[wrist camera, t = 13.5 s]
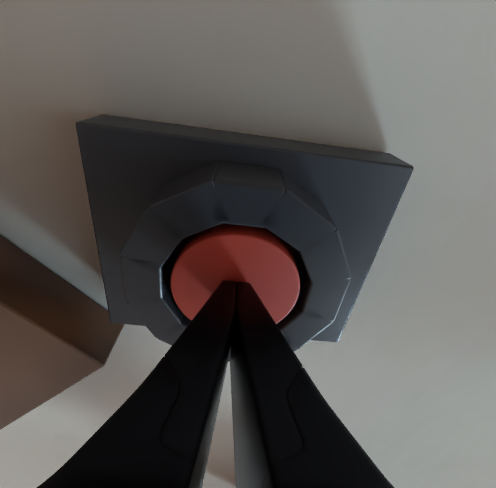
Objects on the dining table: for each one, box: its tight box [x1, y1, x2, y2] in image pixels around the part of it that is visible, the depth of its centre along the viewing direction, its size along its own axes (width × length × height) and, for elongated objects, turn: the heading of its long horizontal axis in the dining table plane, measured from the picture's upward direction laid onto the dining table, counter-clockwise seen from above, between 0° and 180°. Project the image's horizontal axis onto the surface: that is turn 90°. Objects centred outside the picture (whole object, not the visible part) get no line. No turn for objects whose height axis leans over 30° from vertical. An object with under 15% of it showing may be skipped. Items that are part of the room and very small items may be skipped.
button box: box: [76, 115, 413, 361], centre depth 10 cm, size 10×8×4 cm
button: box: [171, 223, 300, 324], centre depth 9 cm, size 4×4×2 cm
